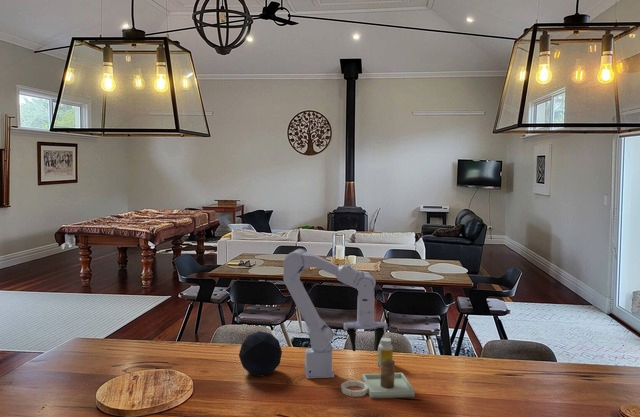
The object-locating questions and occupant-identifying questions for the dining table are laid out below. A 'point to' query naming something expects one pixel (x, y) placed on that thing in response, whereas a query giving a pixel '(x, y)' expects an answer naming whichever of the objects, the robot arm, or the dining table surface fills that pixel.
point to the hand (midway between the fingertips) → (364, 349)
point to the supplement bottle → (385, 350)
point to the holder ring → (354, 392)
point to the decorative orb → (260, 353)
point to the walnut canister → (387, 373)
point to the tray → (399, 390)
